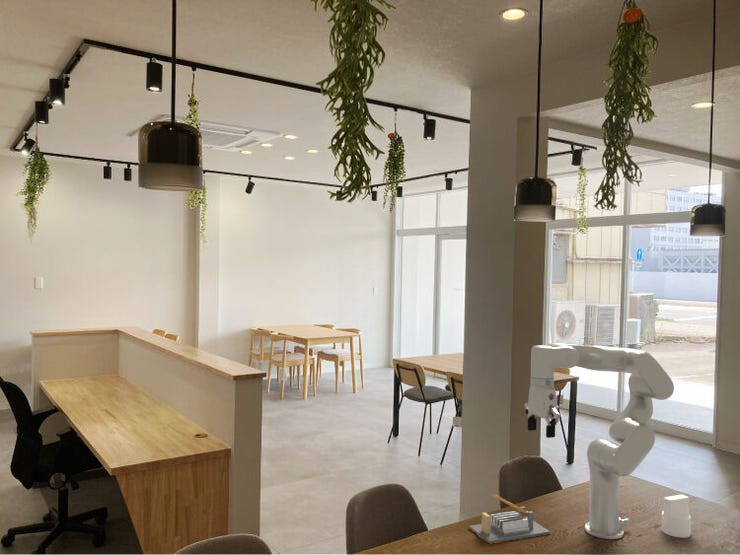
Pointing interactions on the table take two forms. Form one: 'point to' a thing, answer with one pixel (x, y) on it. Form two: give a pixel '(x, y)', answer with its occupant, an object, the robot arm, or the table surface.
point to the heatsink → (509, 523)
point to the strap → (510, 504)
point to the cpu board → (495, 536)
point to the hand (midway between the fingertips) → (541, 433)
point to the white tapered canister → (676, 516)
